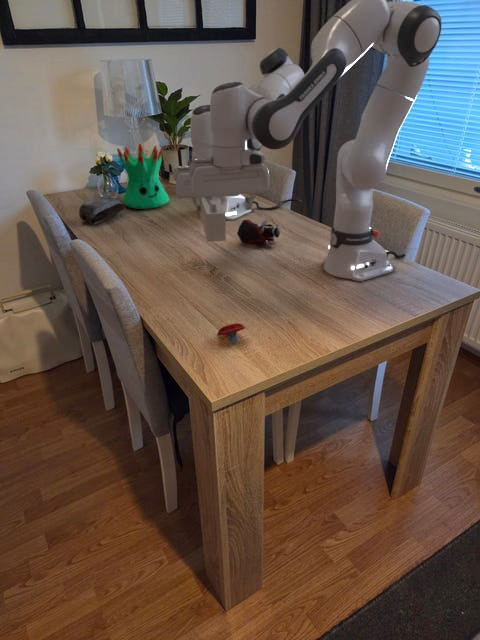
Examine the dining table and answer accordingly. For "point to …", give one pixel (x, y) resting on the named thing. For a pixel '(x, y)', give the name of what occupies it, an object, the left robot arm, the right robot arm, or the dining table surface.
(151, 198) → the toy
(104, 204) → the rock
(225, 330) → the red mushroom
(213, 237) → the bar
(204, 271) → the dining table surface
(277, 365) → the dining table surface
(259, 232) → the toy
